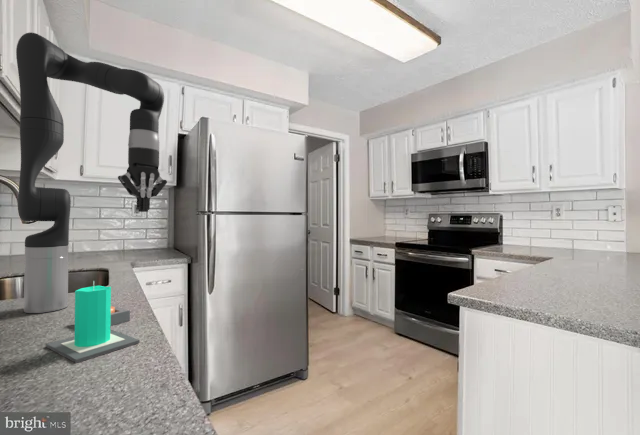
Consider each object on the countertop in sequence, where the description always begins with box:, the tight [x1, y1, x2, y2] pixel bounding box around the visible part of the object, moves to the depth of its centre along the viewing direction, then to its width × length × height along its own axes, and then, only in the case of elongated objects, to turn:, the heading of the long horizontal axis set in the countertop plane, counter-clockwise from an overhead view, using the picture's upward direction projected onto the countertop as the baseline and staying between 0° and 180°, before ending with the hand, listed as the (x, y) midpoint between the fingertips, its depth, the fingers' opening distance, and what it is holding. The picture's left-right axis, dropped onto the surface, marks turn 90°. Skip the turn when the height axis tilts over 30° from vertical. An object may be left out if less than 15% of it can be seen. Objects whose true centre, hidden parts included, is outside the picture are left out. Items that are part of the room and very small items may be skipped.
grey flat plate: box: [45, 328, 140, 364], centre depth 65 cm, size 13×11×1 cm
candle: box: [74, 280, 112, 347], centre depth 65 cm, size 6×6×12 cm
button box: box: [111, 305, 131, 326], centre depth 78 cm, size 8×8×2 cm
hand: (143, 211), depth 90 cm, fingers closed
